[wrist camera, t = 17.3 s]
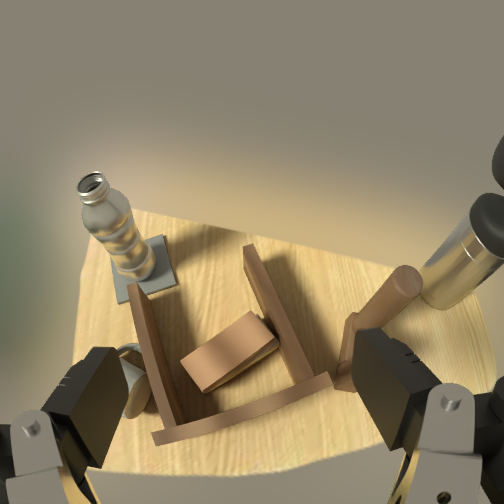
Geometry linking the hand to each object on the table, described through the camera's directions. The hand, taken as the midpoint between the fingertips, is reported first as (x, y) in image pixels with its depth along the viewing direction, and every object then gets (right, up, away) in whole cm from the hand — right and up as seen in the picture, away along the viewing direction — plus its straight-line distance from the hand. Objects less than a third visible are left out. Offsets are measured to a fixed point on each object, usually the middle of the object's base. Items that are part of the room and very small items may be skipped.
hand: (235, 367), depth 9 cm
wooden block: (+15, -11, +31) cm, 36 cm away
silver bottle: (-18, +1, +37) cm, 41 cm away
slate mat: (-18, +1, +38) cm, 42 cm away
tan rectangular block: (-2, -11, +31) cm, 33 cm away
